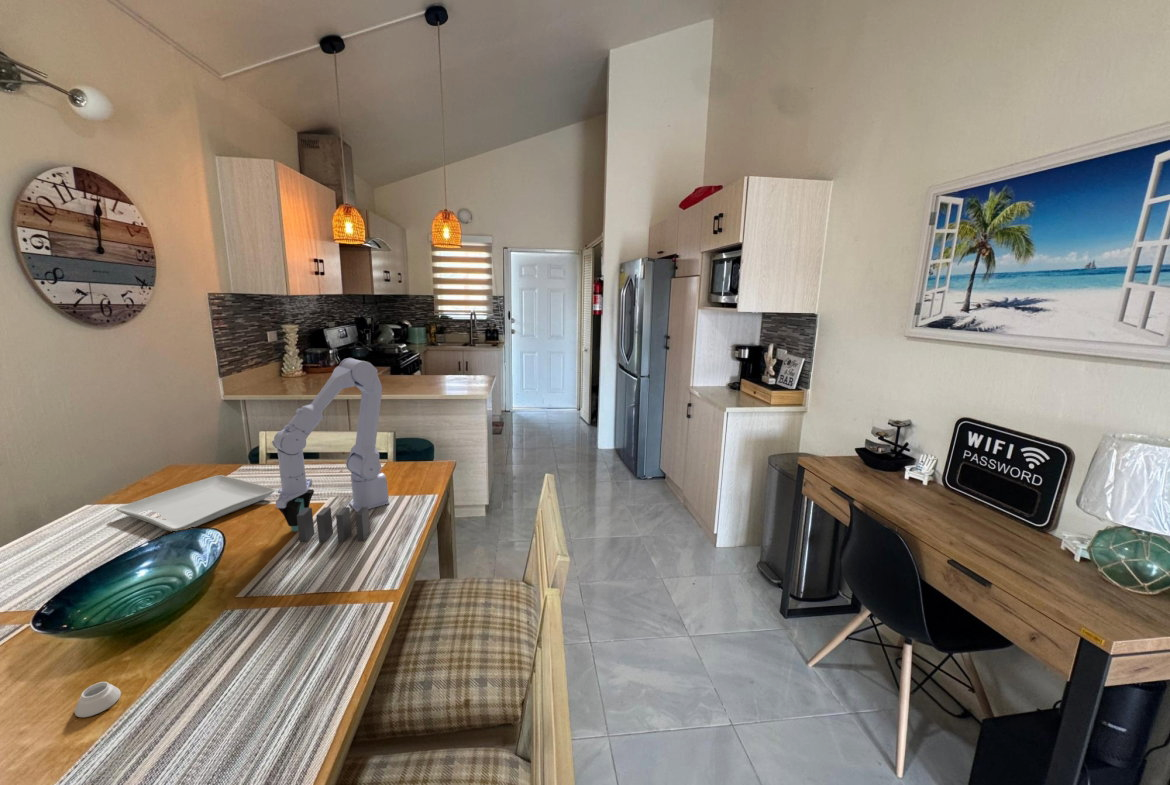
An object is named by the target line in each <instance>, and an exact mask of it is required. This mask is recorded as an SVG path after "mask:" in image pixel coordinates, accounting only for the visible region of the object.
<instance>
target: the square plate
mask: <svg viewBox="0 0 1170 785" xmlns="http://www.w3.org/2000/svg"><path fill="white" fill-rule="evenodd" d="M275 491H276V488H272V487H269V486H264V485H261V484H258V483H254V482H251V481H247V480H243V479H240V478H235V477H231V476H226V475H222V474H220V475H219V474H218V475H214V476H210V477H208V478H204V479H200V480H197V481H193V482H190V483H187V484H183V485H181V486H178V487H173V488H172V489H168V490H165V491H163V492H158V493H155V494H153V495H150V496H147V497H145V498H140V499H139V500H136V501H133V502H130V503H128V504H124V505H122V506H119V507H117V508H115V510H116V511H117V512H120V513H122V514H124V515H126V516H128V517H131V518H134V519H138V520H141V521H144V522H146V523H149V524H152V525H154V526H157V527H159V528H161V529H162V530H166V531H169V532H172V531H176V530H180V529H185V528H190V527H194V528H196V527H198V526H201V525H203V524H206V523H209V522H211V521H214V520H215V519H218V518H221V517H223V516H225V515H228V514H231V513H233V512H236V511H239V510H241V509H243V508H246V507H248V506H251V505H253V504H256V503H258V502H260V501H263V500H265V499H267V498H269V497H270V496H271V495H272V494H273V493H274V492H275ZM148 510H150V511H151V510H152V512H156V513H157V515H158V513H159V516H160V515H161V517H162V516H163V518H164V517H165V519H166V520H162V519H159V518H153V517H149V516H146V515H141V514H138V513H140V512H143V511H148ZM172 533H173V532H172Z"/></svg>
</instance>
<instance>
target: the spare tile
mask: <svg viewBox="0 0 1170 785" xmlns="http://www.w3.org/2000/svg"><path fill="white" fill-rule="evenodd" d="M295 502H302V503H301V505H300V509H299V513H300V512H301V511H302V510H303V509H304V499H303V498H297V499H296V500H295ZM290 527H291V532H298V525H297V526H290Z"/></svg>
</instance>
